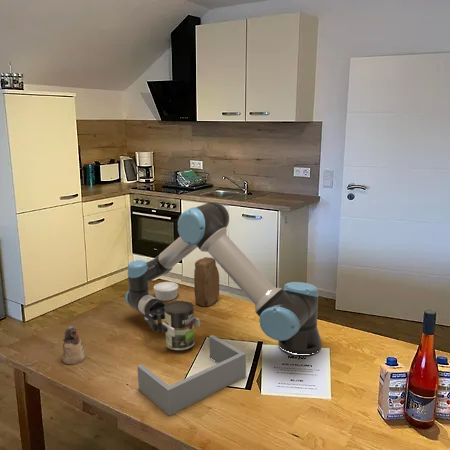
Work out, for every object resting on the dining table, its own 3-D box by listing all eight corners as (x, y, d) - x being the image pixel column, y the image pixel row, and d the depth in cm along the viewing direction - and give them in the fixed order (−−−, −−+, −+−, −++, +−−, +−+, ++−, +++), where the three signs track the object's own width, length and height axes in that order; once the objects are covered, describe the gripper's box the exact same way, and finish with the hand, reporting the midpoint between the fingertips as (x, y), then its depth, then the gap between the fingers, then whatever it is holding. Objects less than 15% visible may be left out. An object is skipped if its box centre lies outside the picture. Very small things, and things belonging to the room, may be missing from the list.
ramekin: (177, 302, 203) (176, 290, 201) (152, 302, 203) (151, 291, 202) (180, 292, 214) (179, 281, 212) (156, 292, 214) (155, 281, 212)
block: (206, 308, 195) (205, 264, 190) (192, 304, 200) (191, 260, 195) (222, 300, 204) (221, 257, 199) (209, 296, 208) (208, 254, 203)
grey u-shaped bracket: (138, 389, 140) (137, 365, 138) (213, 356, 158) (212, 334, 156) (169, 415, 127) (168, 390, 125) (245, 376, 146) (245, 353, 144)
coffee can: (200, 340, 166) (199, 304, 162) (183, 353, 157) (181, 315, 154) (177, 333, 171) (176, 298, 167) (159, 345, 163) (157, 308, 159)
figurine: (79, 351, 162) (75, 320, 159) (89, 359, 157) (86, 326, 154) (59, 359, 157) (55, 327, 154) (69, 367, 152) (65, 334, 149)
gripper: (177, 308, 184) (212, 327, 167) (126, 325, 169) (159, 348, 153) (176, 290, 182) (212, 308, 165) (125, 307, 167) (158, 328, 151)
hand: (186, 328), depth 159 cm, fingers closed on coffee can, 10 cm apart
